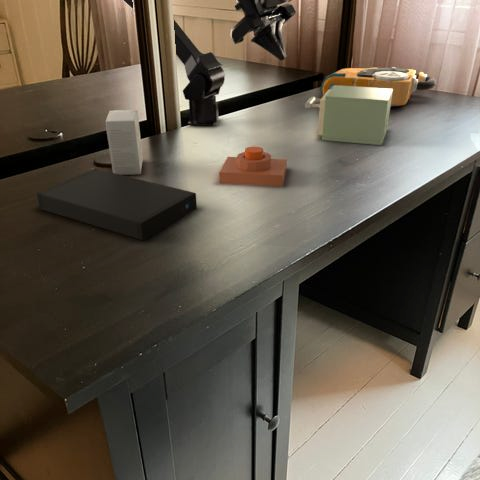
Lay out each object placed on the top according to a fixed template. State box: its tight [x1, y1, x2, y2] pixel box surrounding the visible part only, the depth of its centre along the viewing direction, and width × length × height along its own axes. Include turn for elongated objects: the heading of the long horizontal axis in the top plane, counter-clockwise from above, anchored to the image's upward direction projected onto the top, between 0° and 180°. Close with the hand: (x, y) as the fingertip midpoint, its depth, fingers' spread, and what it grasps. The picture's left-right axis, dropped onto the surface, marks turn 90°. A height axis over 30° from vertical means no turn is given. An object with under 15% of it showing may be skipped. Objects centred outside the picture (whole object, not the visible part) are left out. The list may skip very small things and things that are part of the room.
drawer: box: [304, 90, 330, 136], centre depth 124 cm, size 16×10×8 cm, turn 72°
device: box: [320, 66, 437, 108], centre depth 152 cm, size 23×8×30 cm
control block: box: [218, 151, 288, 187], centre depth 103 cm, size 12×9×4 cm
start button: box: [244, 146, 265, 160], centre depth 102 cm, size 4×4×2 cm
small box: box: [104, 109, 144, 176], centre depth 106 cm, size 8×6×10 cm
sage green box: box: [321, 85, 393, 146], centre depth 123 cm, size 14×12×10 cm
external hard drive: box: [36, 168, 198, 242], centre depth 91 cm, size 14×23×3 cm, turn 58°
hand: (283, 59), depth 118 cm, fingers closed
